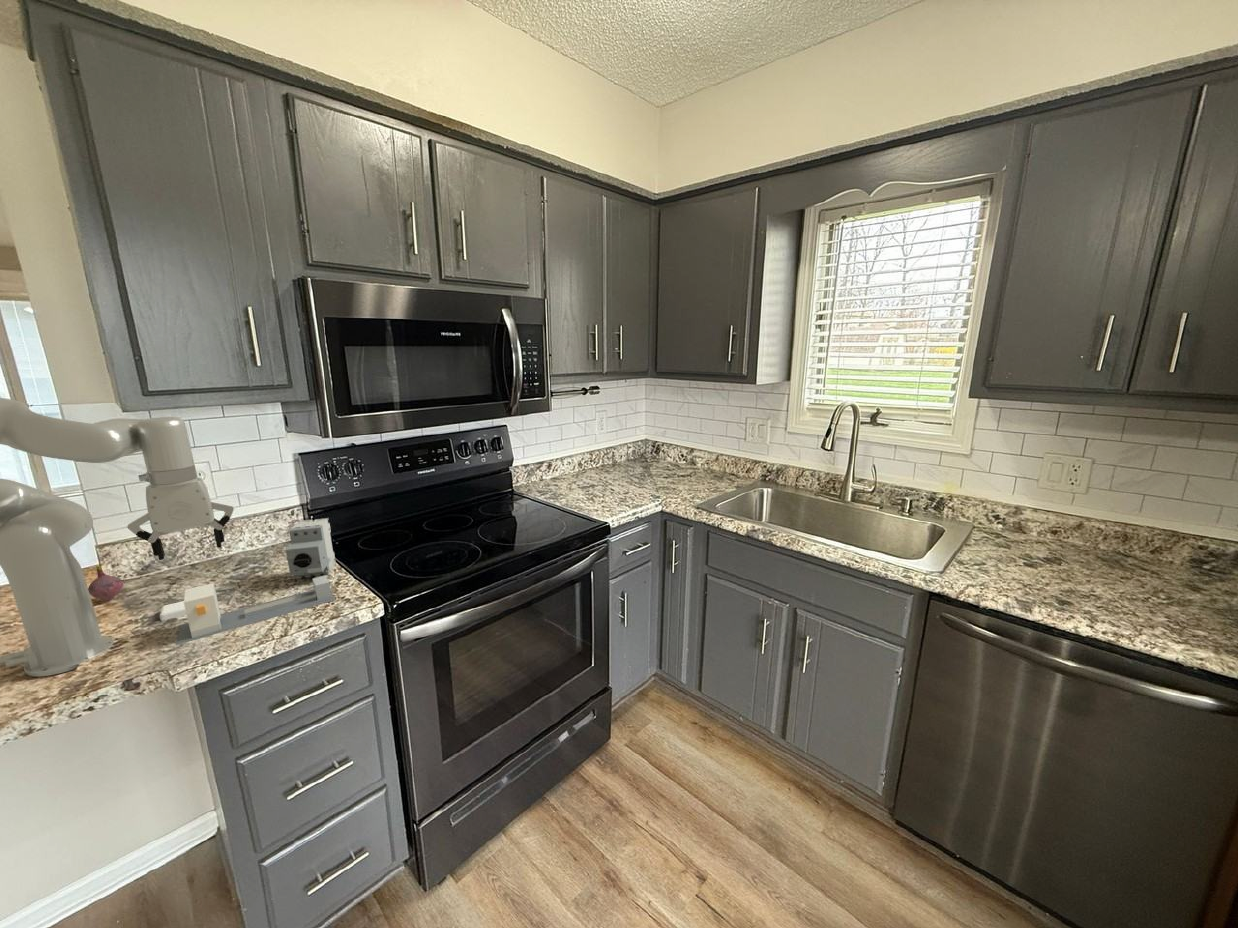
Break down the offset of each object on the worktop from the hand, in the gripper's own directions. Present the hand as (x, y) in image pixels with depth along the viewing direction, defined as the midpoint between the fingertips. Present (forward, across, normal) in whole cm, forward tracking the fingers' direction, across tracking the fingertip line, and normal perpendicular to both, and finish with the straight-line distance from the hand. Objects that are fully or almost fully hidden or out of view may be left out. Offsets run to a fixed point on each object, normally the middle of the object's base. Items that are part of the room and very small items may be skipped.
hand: (191, 551), depth 108 cm
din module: (+18, 0, 0) cm, 18 cm away
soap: (+20, -4, +13) cm, 24 cm away
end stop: (+18, +23, 0) cm, 29 cm away
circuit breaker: (+20, +23, +15) cm, 34 cm away
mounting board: (+19, +10, 0) cm, 22 cm away
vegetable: (+19, -20, +35) cm, 45 cm away
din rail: (+18, +14, 0) cm, 23 cm away
